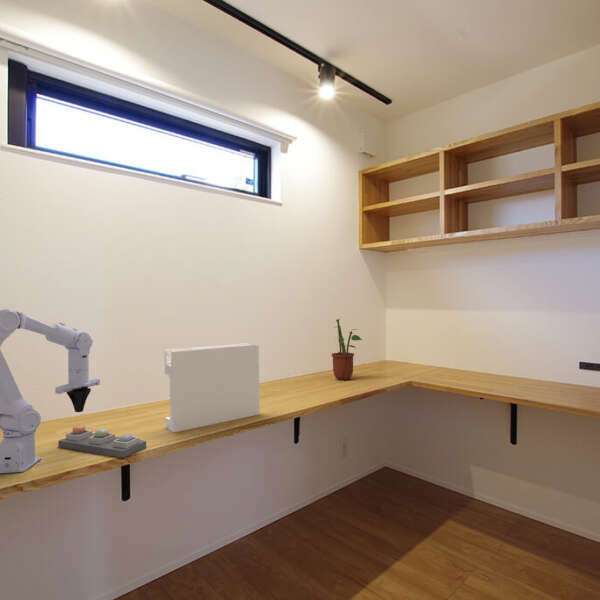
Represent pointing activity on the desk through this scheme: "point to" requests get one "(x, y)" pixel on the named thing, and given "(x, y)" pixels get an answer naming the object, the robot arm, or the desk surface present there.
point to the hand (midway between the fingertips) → (79, 411)
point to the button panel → (101, 444)
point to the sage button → (101, 432)
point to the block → (212, 385)
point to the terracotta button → (78, 429)
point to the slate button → (126, 438)
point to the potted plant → (343, 357)
